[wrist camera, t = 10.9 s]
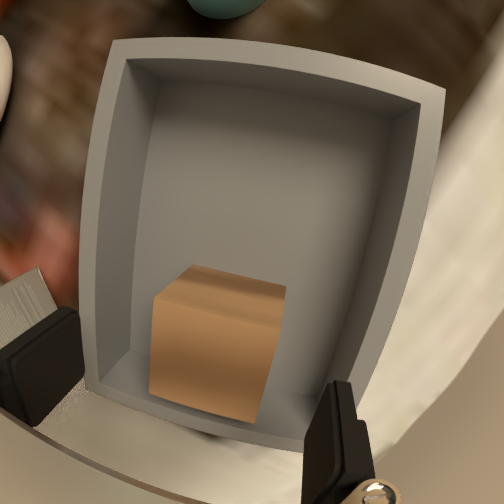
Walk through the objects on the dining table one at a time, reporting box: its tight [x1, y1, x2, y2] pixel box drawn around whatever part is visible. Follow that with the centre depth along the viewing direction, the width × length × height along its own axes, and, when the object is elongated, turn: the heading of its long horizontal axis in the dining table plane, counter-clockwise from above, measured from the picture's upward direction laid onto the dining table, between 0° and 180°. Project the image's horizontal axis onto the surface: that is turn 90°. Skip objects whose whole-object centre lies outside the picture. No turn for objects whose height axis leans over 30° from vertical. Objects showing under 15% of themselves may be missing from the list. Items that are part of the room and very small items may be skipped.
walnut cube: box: [149, 264, 286, 423], centre depth 15 cm, size 5×5×5 cm
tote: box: [79, 37, 446, 453], centre depth 15 cm, size 18×14×5 cm
